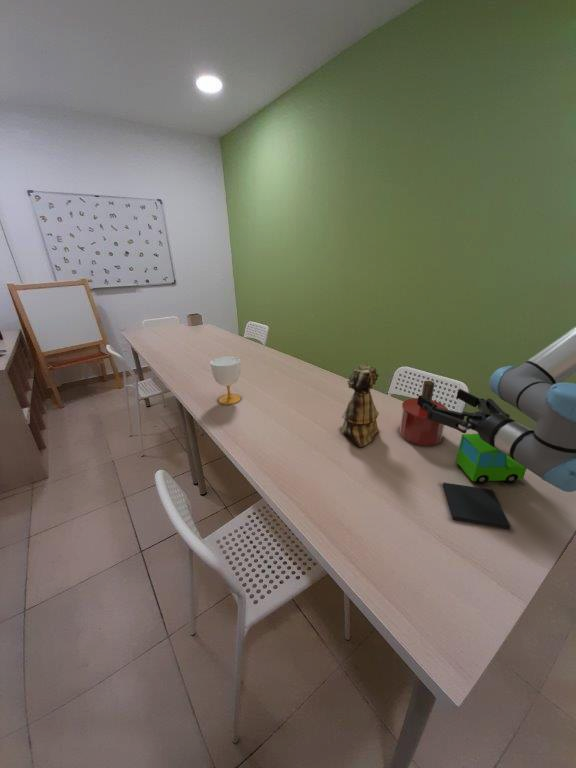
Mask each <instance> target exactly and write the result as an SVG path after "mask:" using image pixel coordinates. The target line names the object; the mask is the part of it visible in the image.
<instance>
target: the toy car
mask: <svg viewBox="0 0 576 768" xmlns="http://www.w3.org/2000/svg"><path fill="white" fill-rule="evenodd" d="M455 462H456V463H457V465H459V467H460V468H461V470H462V471H463V472H464V473H465V474H466V475H467V477H468V478H469V479H470V480H471V481H472V482H476V483H477V484H478V485H483V484H485V483H487V482H494V481H505V483H506V484H513V483H515V482H516V481H518V480H523V479H524V476H525V474H526V472H527V470H528V469H527V468H525V467H524V466H522V465H521V464H519V463H518V462H516V461H515V460H513V459H512V458H510V457H509V456H507V455H506V454H504V453H502V452H501V451H499V450H498V449H496V448H495V447H493V446H491V445H489V444H488V443H486V442H485V441H483V440H482V439H481V438H480V436H479V434H478V433H462V434H461V438H460V442H459V446H458V450H457V454H456V458H455Z"/></svg>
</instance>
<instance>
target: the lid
mask: <svg viewBox="0 0 576 768" xmlns="http://www.w3.org/2000/svg"><path fill="white" fill-rule="evenodd" d="M434 388H435V382H434V381H432V380H424V381H423V384H422V390H421V396H423V397H424V398H426V399H428V400H429V401H431V402H432V403H434V404H436V405H437V407H438V408H442V409H447V410H449V409H448V407H447V406H446V405H445V404H442V403H441V402H439V401H437V400H433V395H434ZM417 402H418V397H413V398H412V397H411V398H408V399H405V400H404V401H402V403H401V409H403V410H404V411H405V412H406V413H408V414H410V415H412V416H414V417H417V418H421V419H427V418H426V417H427V411H426V410H424V409H423V408H422V407H421V406H419V405H418V404H417ZM427 420H429V419H427Z"/></svg>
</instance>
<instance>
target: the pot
mask: <svg viewBox="0 0 576 768" xmlns="http://www.w3.org/2000/svg"><path fill="white" fill-rule="evenodd" d="M401 409H402V410H401V416H400V424H399V434H400V436H401V437H402V438H403V439H404V440H405V441H406V442H408V443H411V444H413V445H416V446H423V447H433V446H437V445H438V444H440V443H441V442H442V439H443V436H444V430H445V426H446V425H443V424H440V423H438V422H435V421H432V420H427V419H421V418H417V417H414V416H412V415H410V414H408V413H406V412H405V411H404V410H403V408H401Z"/></svg>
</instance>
